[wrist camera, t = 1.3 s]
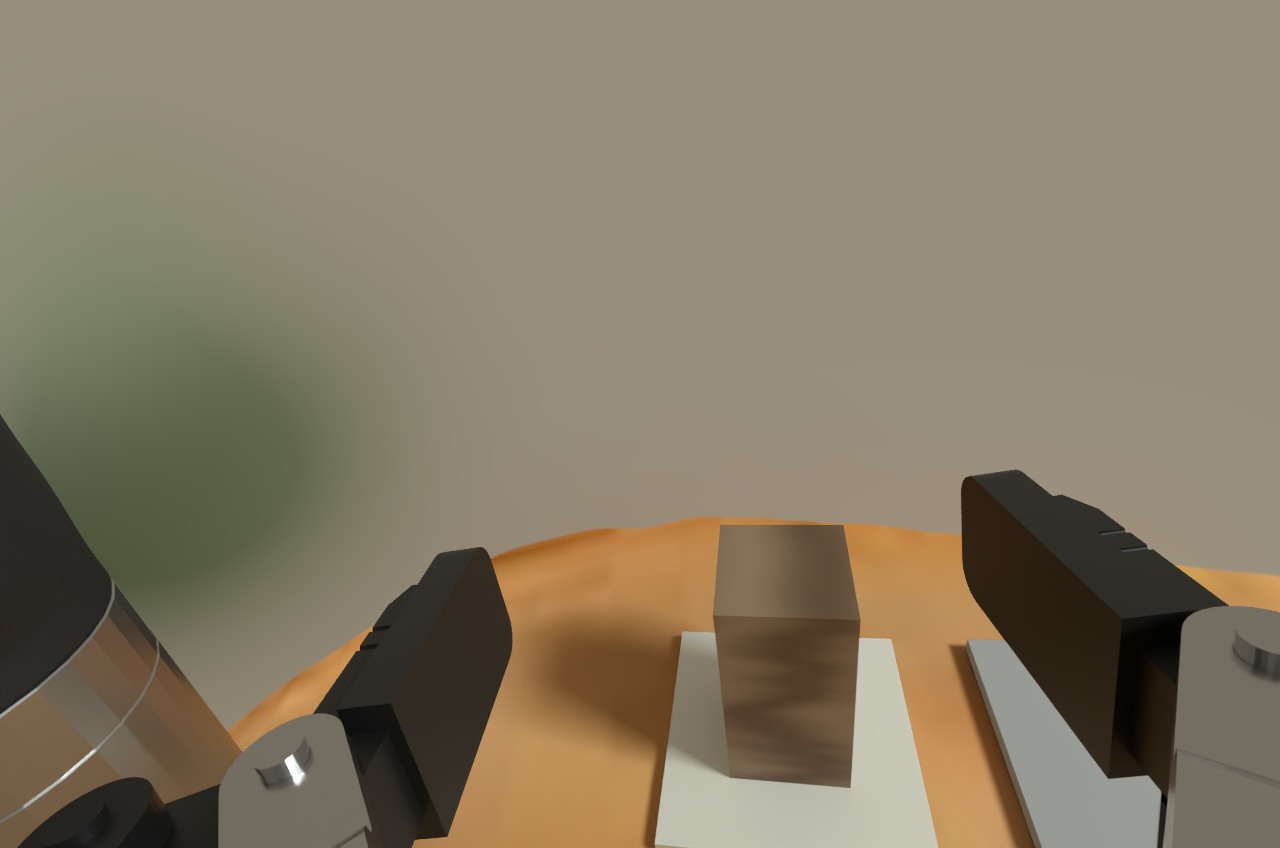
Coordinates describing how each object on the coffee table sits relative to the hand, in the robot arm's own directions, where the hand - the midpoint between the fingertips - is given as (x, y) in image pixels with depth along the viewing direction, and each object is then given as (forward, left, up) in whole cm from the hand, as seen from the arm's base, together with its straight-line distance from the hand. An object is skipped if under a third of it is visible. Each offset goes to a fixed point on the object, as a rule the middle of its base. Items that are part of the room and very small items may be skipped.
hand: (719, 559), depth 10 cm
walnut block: (+1, +12, -22) cm, 25 cm away
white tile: (+1, +12, -23) cm, 26 cm away
